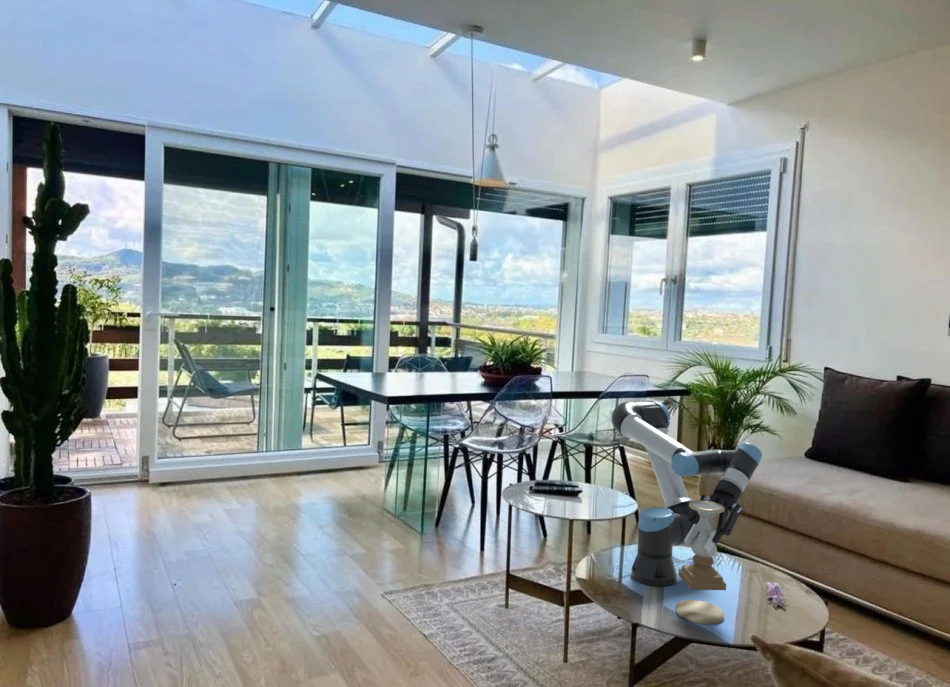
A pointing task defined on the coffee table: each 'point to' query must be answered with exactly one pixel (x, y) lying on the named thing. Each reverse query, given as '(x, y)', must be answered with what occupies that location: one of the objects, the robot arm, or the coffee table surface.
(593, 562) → the coffee table surface
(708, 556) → the candle holder
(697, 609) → the hub disc
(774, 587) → the purple toy figure
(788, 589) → the coffee table surface
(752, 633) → the coffee table surface
